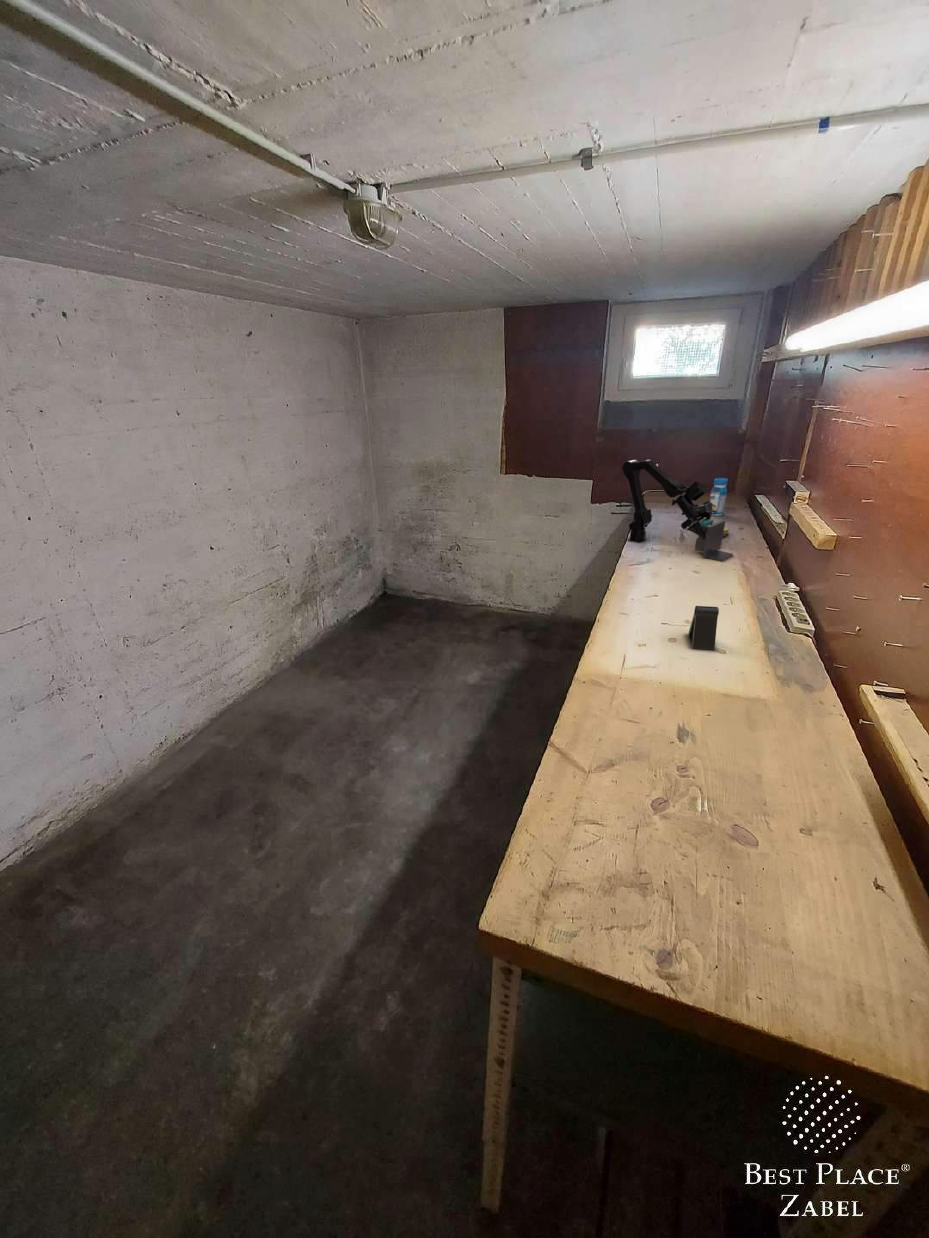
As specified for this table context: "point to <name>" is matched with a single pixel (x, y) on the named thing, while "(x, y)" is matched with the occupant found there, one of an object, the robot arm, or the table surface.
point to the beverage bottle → (718, 496)
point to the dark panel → (715, 542)
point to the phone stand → (703, 627)
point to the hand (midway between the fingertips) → (707, 535)
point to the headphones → (701, 540)
